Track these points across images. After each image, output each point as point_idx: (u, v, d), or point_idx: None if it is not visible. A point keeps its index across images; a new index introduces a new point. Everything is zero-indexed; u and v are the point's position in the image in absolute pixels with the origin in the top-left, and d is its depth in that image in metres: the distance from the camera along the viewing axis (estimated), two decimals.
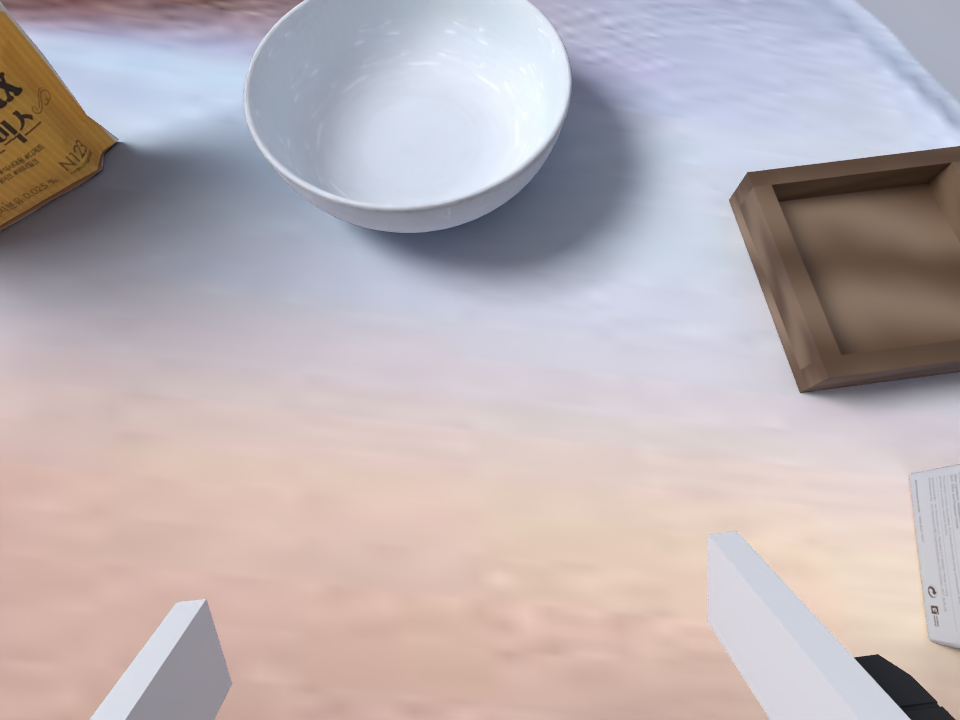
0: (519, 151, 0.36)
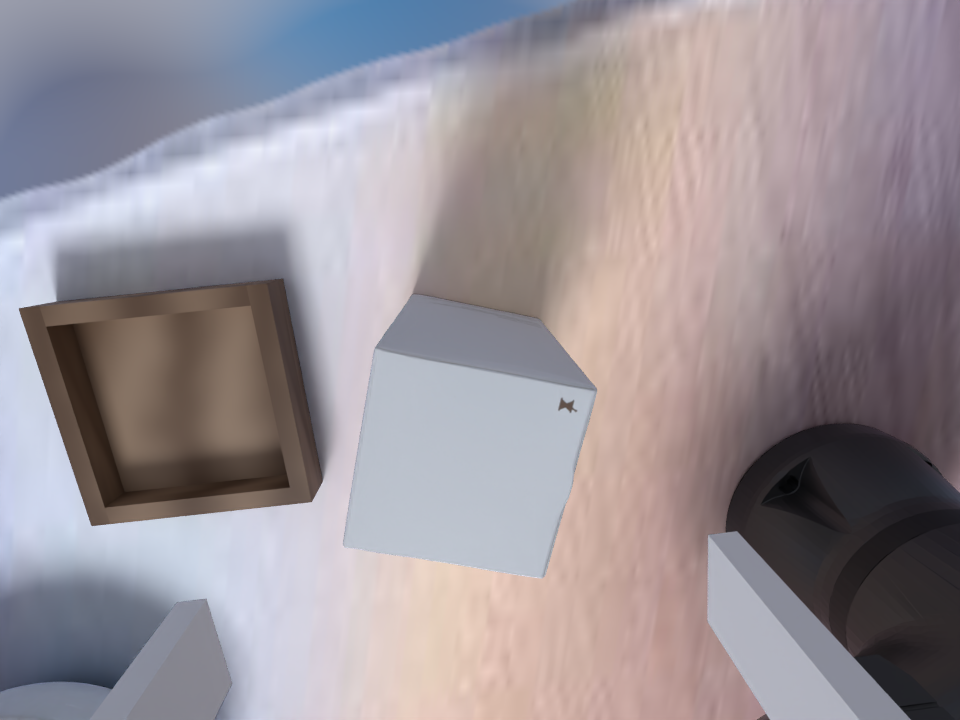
0: None
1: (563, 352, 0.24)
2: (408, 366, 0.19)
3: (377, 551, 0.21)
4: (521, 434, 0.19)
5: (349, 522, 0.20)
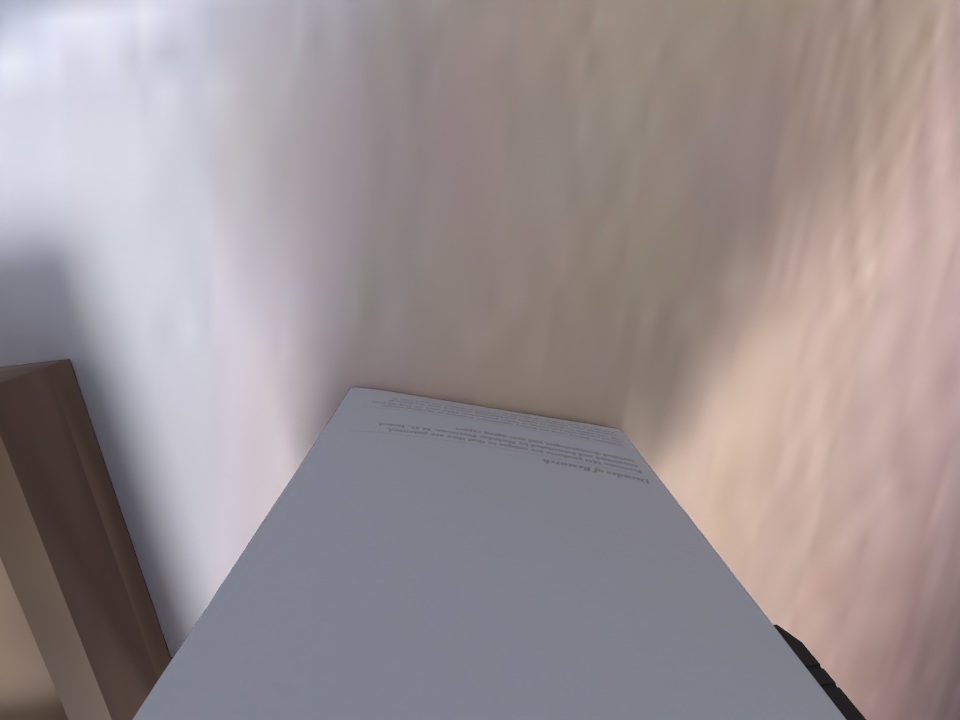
0: None
1: (812, 691, 0.07)
2: None
3: None
4: None
5: None
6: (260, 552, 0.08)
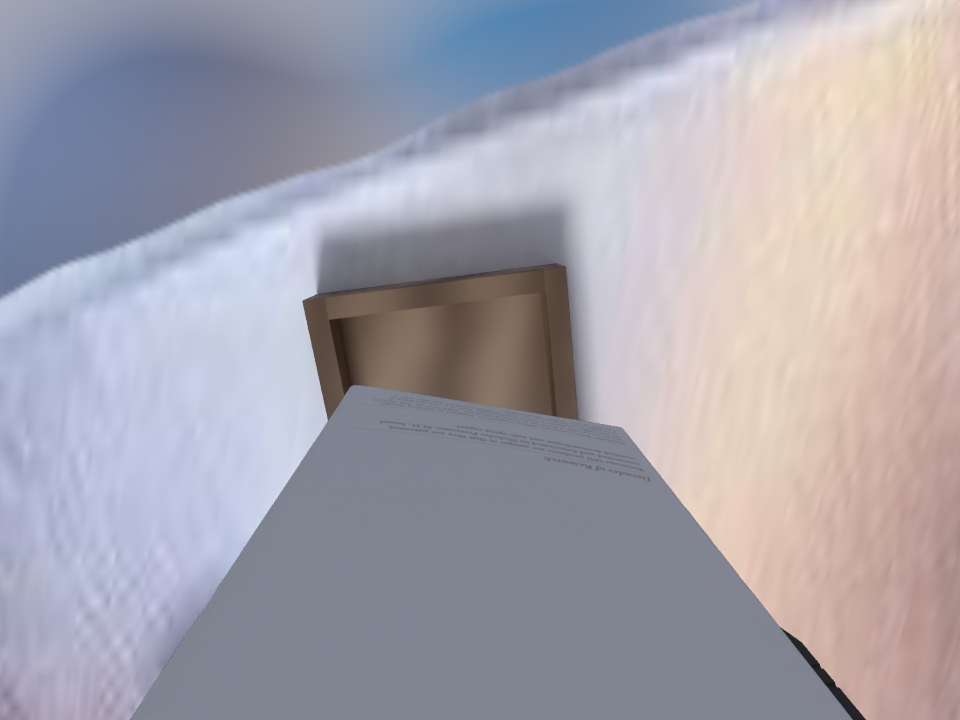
0: None
1: (816, 689, 0.07)
2: None
3: None
4: None
5: None
6: (260, 549, 0.08)
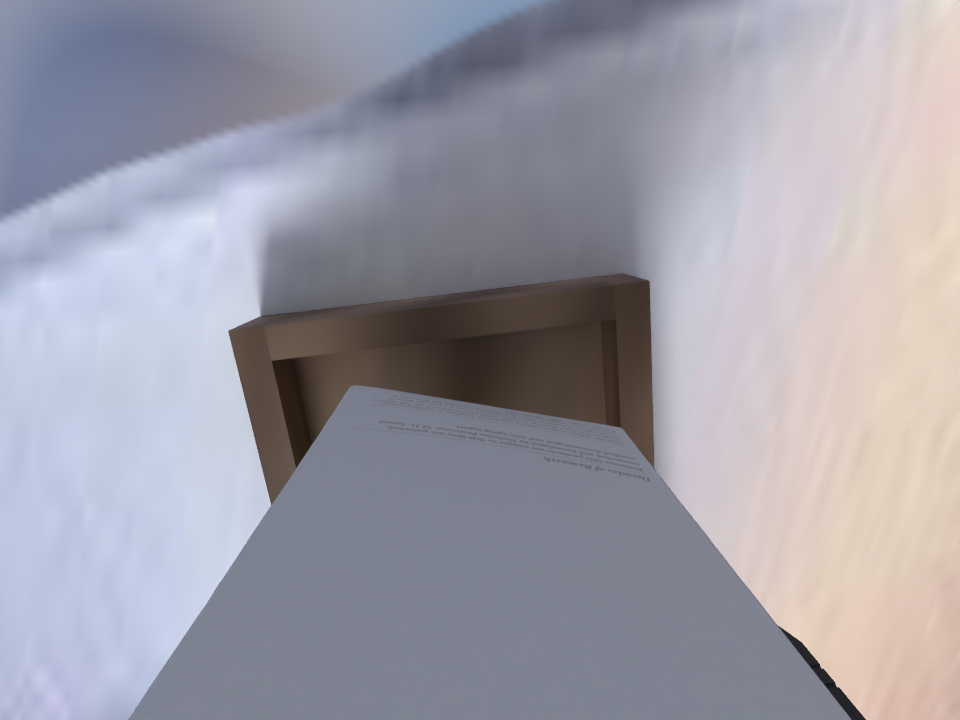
0: None
1: (815, 690, 0.07)
2: None
3: None
4: None
5: None
6: (259, 549, 0.08)
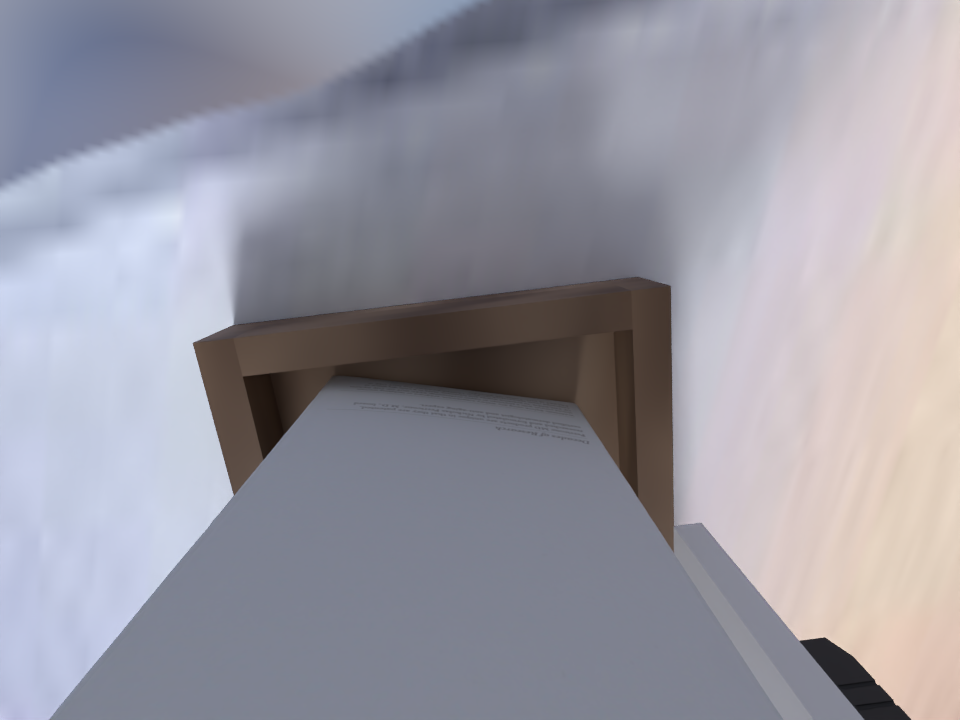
0: None
1: (681, 582, 0.09)
2: None
3: None
4: None
5: None
6: (246, 496, 0.10)
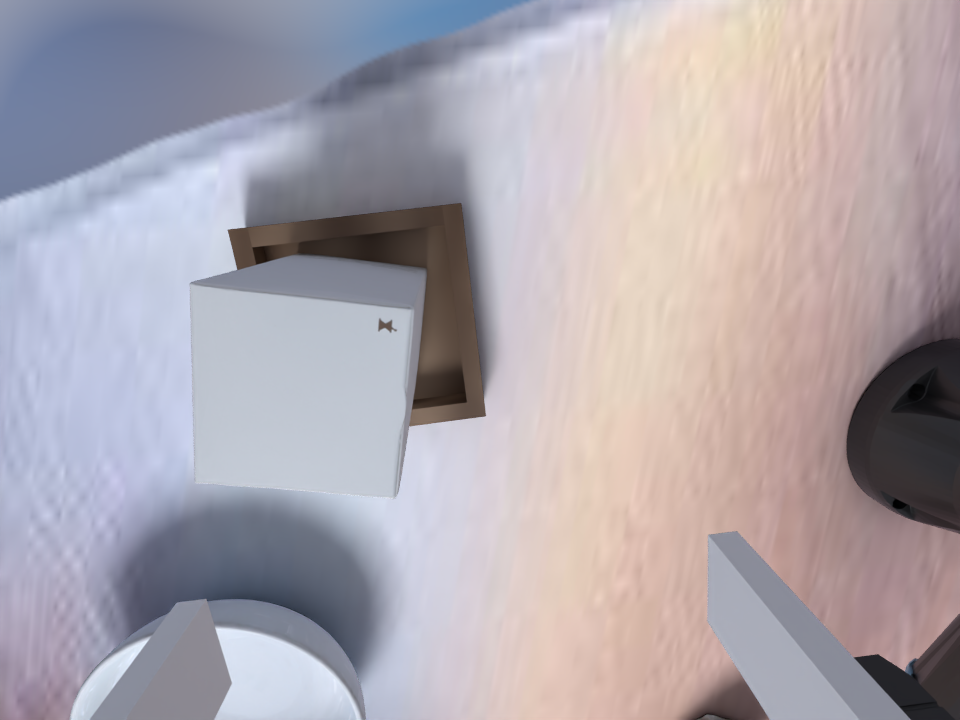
0: None
1: (414, 286, 0.25)
2: (224, 298, 0.19)
3: (227, 484, 0.21)
4: (346, 357, 0.20)
5: (196, 458, 0.21)
6: (258, 265, 0.26)
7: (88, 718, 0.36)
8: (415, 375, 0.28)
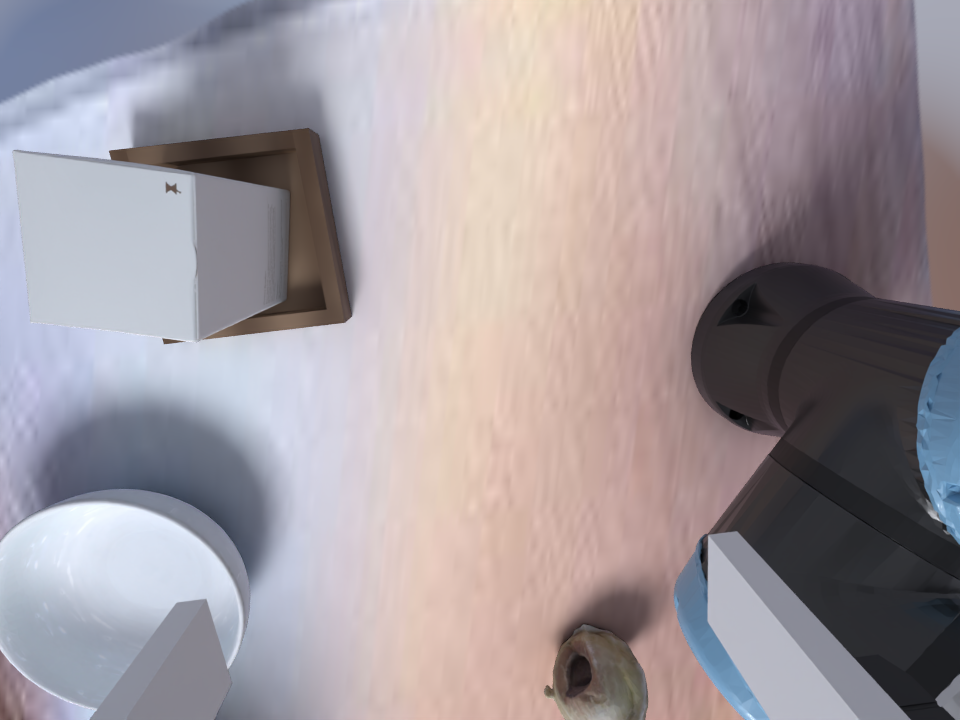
0: None
1: (234, 180, 0.30)
2: (39, 163, 0.24)
3: (56, 323, 0.27)
4: (142, 215, 0.25)
5: (29, 300, 0.26)
6: None
7: (1, 588, 0.42)
8: (250, 265, 0.33)
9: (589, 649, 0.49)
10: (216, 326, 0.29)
